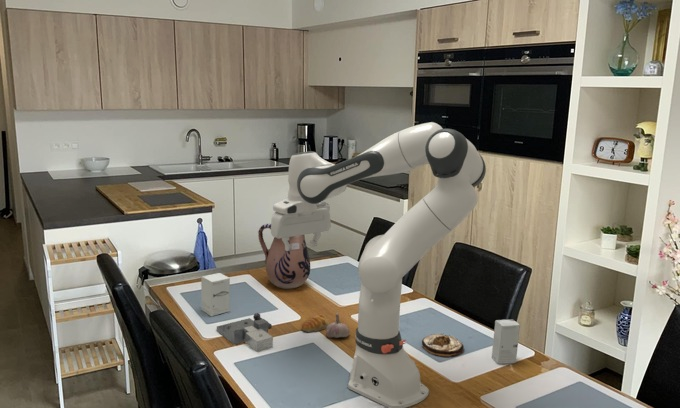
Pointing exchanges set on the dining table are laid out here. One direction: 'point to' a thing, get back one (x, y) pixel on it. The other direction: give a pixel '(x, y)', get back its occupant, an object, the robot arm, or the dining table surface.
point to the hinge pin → (257, 317)
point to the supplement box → (215, 294)
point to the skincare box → (505, 341)
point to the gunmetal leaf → (240, 329)
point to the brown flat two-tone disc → (442, 345)
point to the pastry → (315, 323)
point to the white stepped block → (257, 339)
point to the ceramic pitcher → (286, 261)
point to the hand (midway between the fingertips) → (301, 248)
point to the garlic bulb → (337, 329)
